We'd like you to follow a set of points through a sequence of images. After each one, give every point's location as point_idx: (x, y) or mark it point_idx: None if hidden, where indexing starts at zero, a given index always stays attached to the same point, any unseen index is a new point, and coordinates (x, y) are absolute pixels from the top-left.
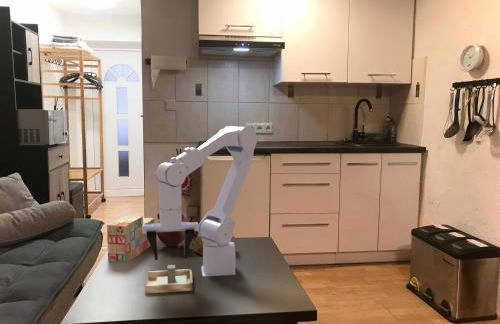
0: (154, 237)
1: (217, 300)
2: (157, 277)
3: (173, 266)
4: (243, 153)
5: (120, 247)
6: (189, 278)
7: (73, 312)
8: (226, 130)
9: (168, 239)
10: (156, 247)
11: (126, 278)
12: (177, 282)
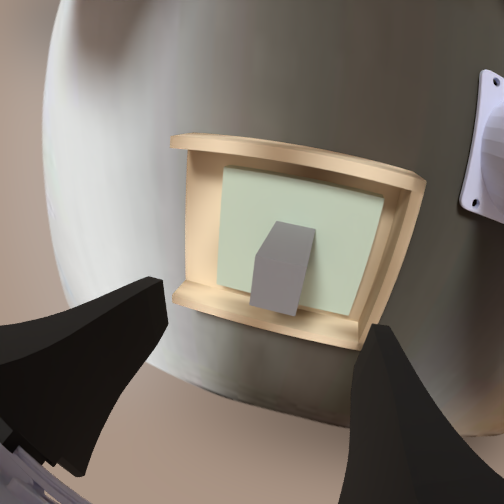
0: (74, 469)
1: None
2: (225, 177)
3: (290, 290)
4: None
5: None
6: (394, 208)
7: (65, 294)
8: None
9: None
10: (117, 399)
11: (115, 99)
12: (317, 274)
